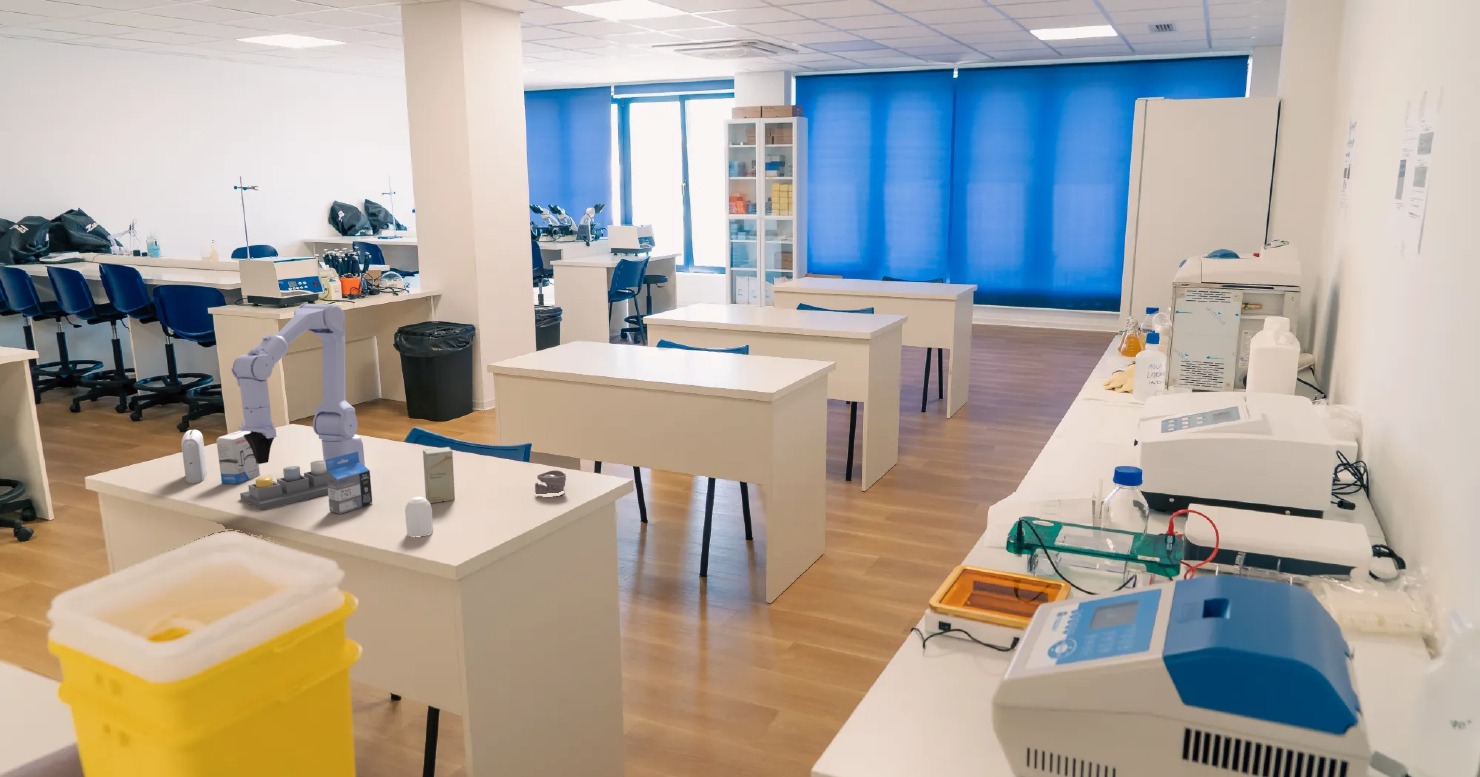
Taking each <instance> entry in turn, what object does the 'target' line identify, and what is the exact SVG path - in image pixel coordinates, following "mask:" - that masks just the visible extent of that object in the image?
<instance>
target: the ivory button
mask: <svg viewBox="0 0 1480 777" xmlns="http://www.w3.org/2000/svg"><path fill="white" fill-rule="evenodd" d="M309 464H310V465H309V466H310V472H311V475H313V476H319V475H323V474H327V472H326V471H327V470H326V463H325V461H324V460H314V461H311V462H310V463H309Z"/></svg>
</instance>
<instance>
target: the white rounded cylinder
mask: <svg viewBox="0 0 1480 777" xmlns="http://www.w3.org/2000/svg"><path fill="white" fill-rule="evenodd" d="M431 504H432V503H429V501H428V500H427V499H426V497H422V496H413V497H412V498H410V499H409V500H408V502H407V503H406V505H405V508H404V509H405V510H404V512H405V513H404V514H405V524H406V525H405V526H406V535H407V536H408V537H409V536H415V537H416V536H425V537H427V536H426V535H428V534H430V533H432V532H433V533H434V525H433V509H432V505H431ZM433 533H432V534H433ZM428 536H429V535H428ZM415 537H414V538H415Z"/></svg>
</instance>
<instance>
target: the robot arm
mask: <svg viewBox="0 0 1480 777" xmlns="http://www.w3.org/2000/svg"><path fill="white" fill-rule="evenodd" d="M307 331H309V332H311V333H313V334H315V335H316V336H317V337H318V338H319V340H321V341H322V345H321V346H322V401H321V402H320V403H319V404H318V405H317V406H316V407H315V408H314V410H315V411H314V417H313V420H312V429H313V431H314V433H315V435H318V439H319V440H321V448H322V456H323V459H322V460H323V461H325V460H327V459H331V458H335V457H338V456H342V455H346V454H350V453H354V452H357V451H358V455H359V462H360V463H362V464H363V465H364V466H365V465H366V464H365V463H366V461H365V451H364V443H363V441H362V440H363V439H362V438H361V437H360V436H359V435H358V434H356V433H357V430H358V426H359V423H358V418H357V416H356V408H355V407H353V406H352V404H350V403H349V402H348V401H347V400H346V398H347V397H346V390H347V389H346V384H347V383H346V312H345V311H344V310H343V309H342V308H341V307H340V306H339V305H338V304H333V303H332V304H325V303H324V304H323V303H322V304H321V303H318V304H317V303H306V302H304V303H302V304H300V305H299V306H298V307H297V308H296V309H294V311H293V317H291V319H290V320H289V321H288V322H287V323H286V324H284V325H283V327H282V328H281V329H280V330H279V331H278V332H277V334H269V335H264V336H263V337H262V340H261V341H260V342H259V343H258V344H257V345H256V346H255V347H252V348H251V349H250V350H249V352H248V353H247V354H241V355H239V356H238V357H237V358H236V359H235V360H234V361H233V365H232V368H231V373H232V375H233V377H234V378H235V379H236V383H237V386H238V387H239V389H240V390H239V391H240V397H241V407H242V414H243V420H241V426H240V427H239V430H238V431H251V432H250V434H245V435H244V438H245V439H246V440H247V442H248V443H249V445H250V447H251V449H252V451H253V454H254V457H255V460H256V462H257V463H258V464H259V465H262V464H267V463H269V460H270V454H271V453H270V452H271V448H272V444H273V441H274V439H275V438H277V437H278V436H277V429H276V428H275V427H274V423H273V421H272V419H273V418H272V411H271V404H270V403H271V402H270V396H269V383H268V379H269V378H270V377H271V376H272V372H273V368H275V365H276V364H277V363H278V362H279V361H280V360H281V359H282V358H283V357H285V355H286V354H288V352H289V345H290V344H292V342H294V341H295V340H297V339H298V338H299V337H300V336H302V335H303V334H304V333H306V332H307ZM345 462H348V459H347V460H344V459H342V460H341V461H339V462H337V464H341V463H345ZM365 467H366V466H365Z"/></svg>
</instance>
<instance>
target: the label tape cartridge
mask: <svg viewBox="0 0 1480 777" xmlns="http://www.w3.org/2000/svg"><path fill="white" fill-rule="evenodd" d="M342 459H344V460H347V459H348V462H345V463H341V464H337V462H339V461H341V460H342ZM325 463H326V470H327V471H326V472H327V485H328V494H327V495H328V506H329V512H330V513H334V514H338V515H343V514H345V513H347V512H352V511H355V510H357V509H358V510H359V509H360V508H363V507H367V506H371V505H373V494H372V481H371V471H370V469H369V468H368V467H367V466H364V465H363V464H362V463H360V462H359V455H358V451H357V452H354V453H350V454H346V455H342V456H338V457H335V458H331V459H327V460H325Z"/></svg>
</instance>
